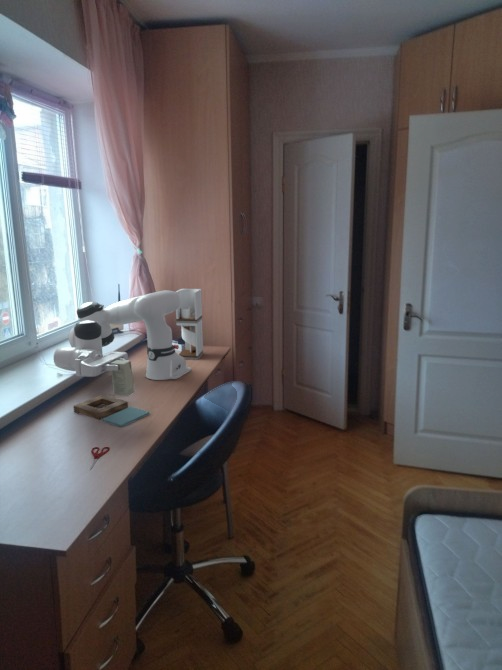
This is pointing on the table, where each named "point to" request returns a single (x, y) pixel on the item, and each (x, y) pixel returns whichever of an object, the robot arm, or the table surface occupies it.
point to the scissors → (96, 455)
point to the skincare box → (122, 378)
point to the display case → (190, 322)
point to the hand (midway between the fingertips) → (123, 365)
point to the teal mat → (125, 416)
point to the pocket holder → (111, 407)
